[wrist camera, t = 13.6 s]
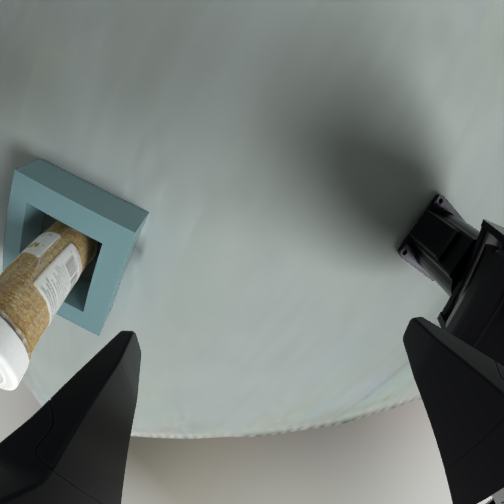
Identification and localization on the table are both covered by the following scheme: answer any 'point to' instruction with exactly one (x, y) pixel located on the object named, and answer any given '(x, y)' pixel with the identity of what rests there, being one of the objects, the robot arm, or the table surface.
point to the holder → (83, 220)
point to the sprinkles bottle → (37, 293)
